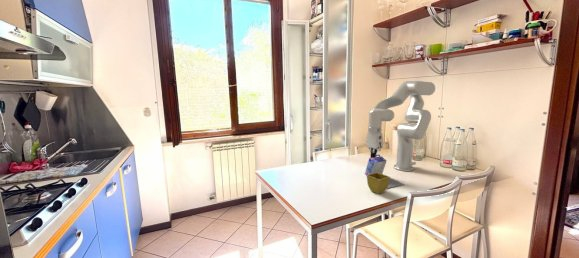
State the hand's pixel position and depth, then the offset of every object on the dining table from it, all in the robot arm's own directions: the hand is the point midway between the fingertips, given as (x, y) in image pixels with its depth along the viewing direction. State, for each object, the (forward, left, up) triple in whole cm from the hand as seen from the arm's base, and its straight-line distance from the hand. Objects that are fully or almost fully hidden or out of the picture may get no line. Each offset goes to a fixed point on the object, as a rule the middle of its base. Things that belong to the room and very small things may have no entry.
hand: (373, 158), depth 157 cm
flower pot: (+13, +19, -12) cm, 26 cm away
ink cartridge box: (0, 0, -11) cm, 11 cm away
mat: (0, +11, -12) cm, 16 cm away
